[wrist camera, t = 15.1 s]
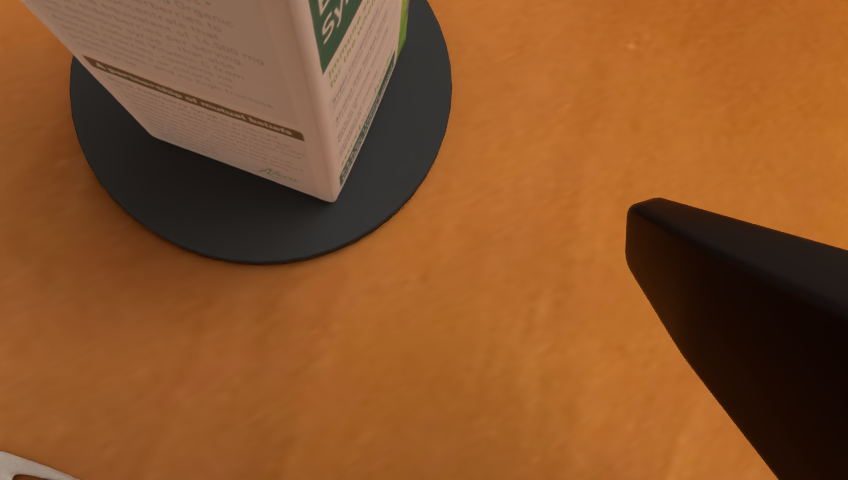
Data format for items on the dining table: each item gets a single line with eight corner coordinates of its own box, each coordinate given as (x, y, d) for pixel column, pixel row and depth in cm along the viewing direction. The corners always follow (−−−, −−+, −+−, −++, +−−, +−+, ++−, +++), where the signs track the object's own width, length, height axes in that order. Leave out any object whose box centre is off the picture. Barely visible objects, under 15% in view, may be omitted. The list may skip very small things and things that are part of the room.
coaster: (521, 97, 20) (526, 90, 19) (253, 345, 17) (249, 345, 17) (282, -140, 20) (280, -152, 20) (-5, 69, 18) (-15, 62, 18)
